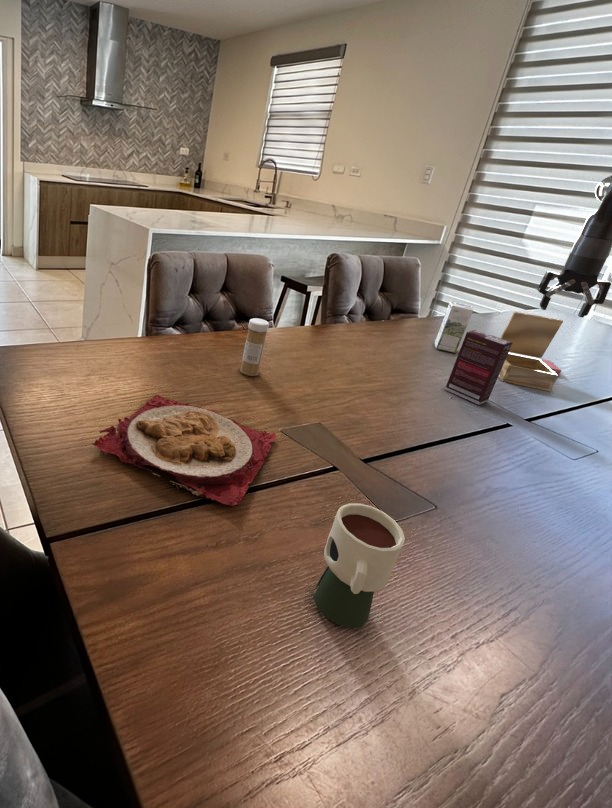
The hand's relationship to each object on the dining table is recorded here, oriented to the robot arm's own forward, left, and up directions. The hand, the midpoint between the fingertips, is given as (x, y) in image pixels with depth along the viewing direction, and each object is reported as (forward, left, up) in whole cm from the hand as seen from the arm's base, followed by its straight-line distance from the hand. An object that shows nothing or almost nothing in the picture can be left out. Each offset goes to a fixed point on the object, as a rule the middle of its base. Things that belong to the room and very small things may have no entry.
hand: (561, 312), depth 129 cm
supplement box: (+25, +29, -19) cm, 43 cm away
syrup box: (+22, -6, -19) cm, 30 cm away
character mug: (+58, +105, -19) cm, 122 cm away
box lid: (+6, +3, -7) cm, 10 cm away
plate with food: (+83, +81, -19) cm, 118 cm away
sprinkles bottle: (+77, +45, -19) cm, 92 cm away
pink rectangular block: (-5, -5, -18) cm, 20 cm away
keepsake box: (+6, +7, -18) cm, 21 cm away
